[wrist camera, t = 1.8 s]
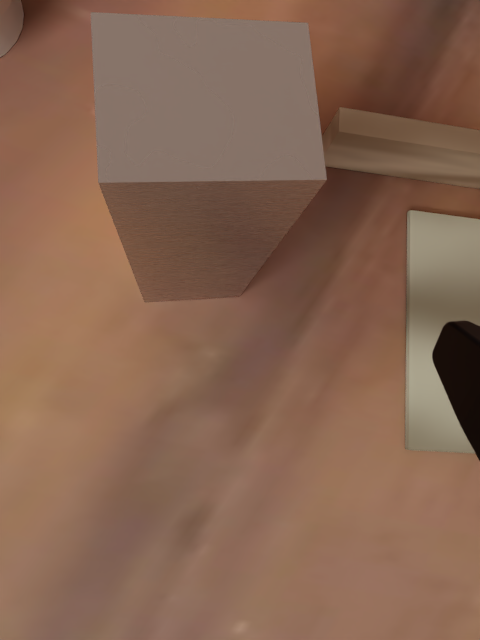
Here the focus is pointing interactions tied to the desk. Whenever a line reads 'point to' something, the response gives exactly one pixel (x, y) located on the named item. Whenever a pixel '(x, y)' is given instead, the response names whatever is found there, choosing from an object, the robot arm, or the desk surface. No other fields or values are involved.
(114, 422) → the desk surface
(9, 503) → the desk surface
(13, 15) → the candle
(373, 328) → the desk surface
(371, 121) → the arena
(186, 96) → the block
